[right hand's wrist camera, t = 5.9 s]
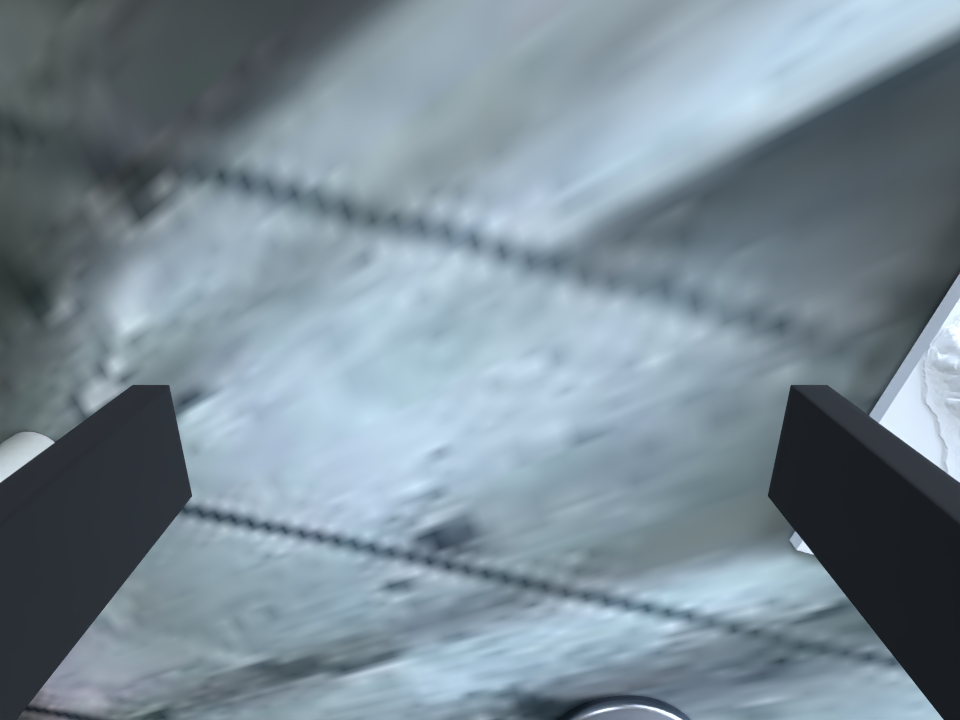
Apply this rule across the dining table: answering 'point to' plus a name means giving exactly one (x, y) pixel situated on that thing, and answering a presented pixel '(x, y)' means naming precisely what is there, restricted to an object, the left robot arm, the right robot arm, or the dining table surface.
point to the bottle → (20, 451)
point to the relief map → (926, 394)
